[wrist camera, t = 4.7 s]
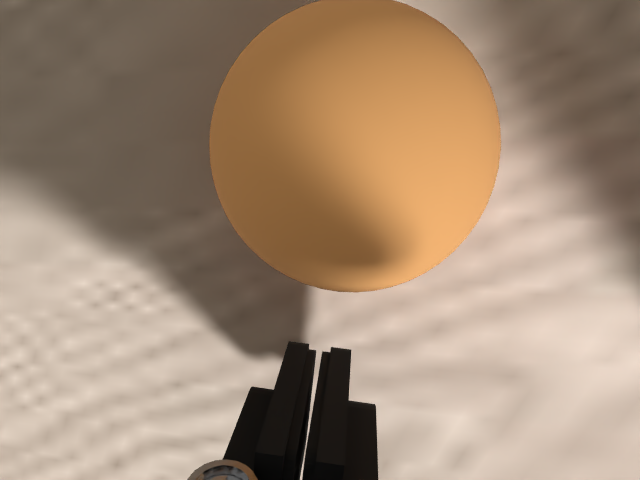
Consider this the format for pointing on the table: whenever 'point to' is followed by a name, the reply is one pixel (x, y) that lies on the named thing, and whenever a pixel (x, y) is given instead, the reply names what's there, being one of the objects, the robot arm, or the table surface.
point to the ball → (354, 144)
